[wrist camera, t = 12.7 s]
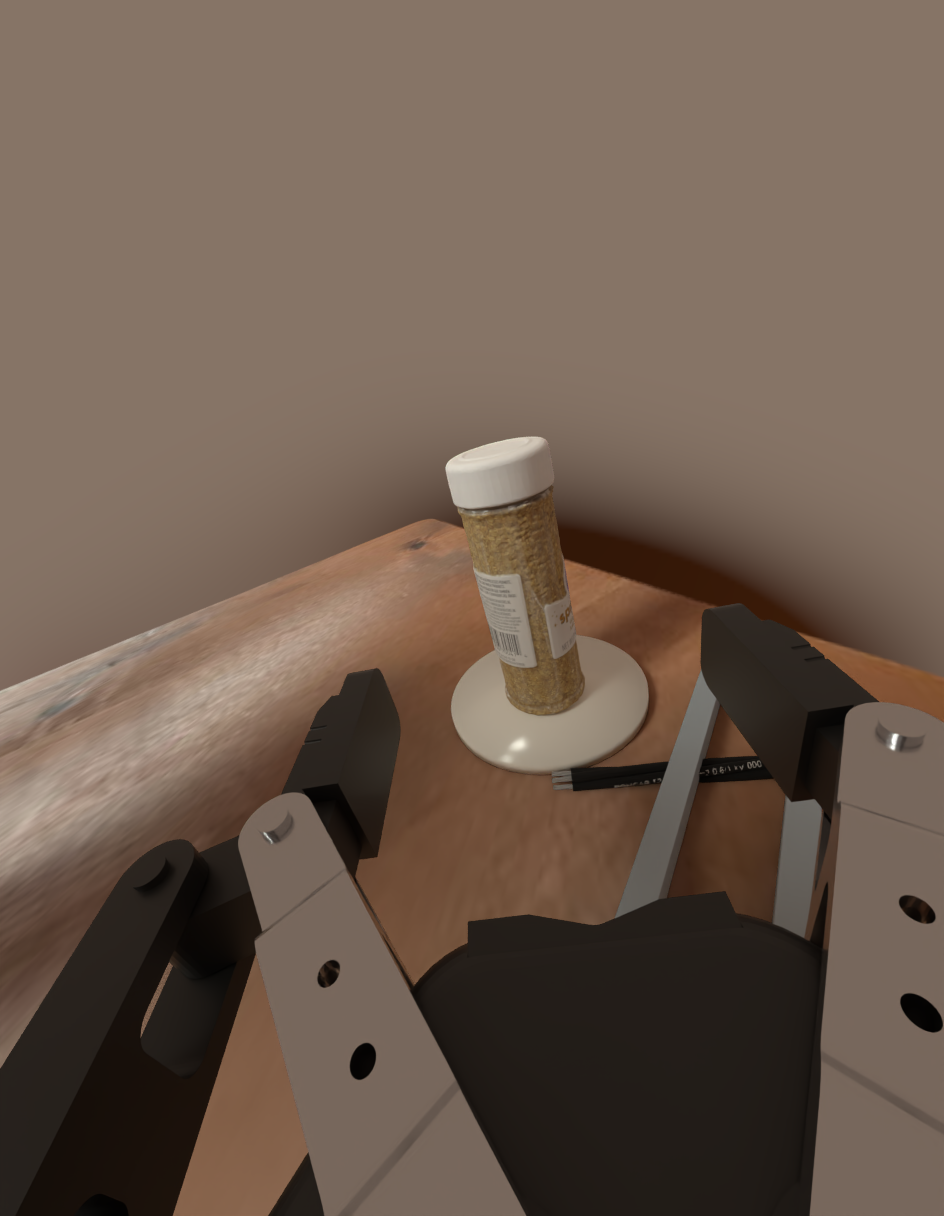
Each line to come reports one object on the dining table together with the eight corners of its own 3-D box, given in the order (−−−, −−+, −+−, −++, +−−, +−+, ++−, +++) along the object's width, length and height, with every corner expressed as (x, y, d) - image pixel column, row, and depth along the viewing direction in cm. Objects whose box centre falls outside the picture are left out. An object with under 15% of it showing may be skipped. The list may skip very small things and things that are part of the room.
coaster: (415, 736, 25) (413, 729, 25) (511, 631, 33) (509, 624, 32) (606, 808, 19) (605, 799, 19) (672, 657, 26) (671, 649, 26)
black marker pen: (554, 797, 20) (551, 782, 20) (553, 779, 21) (550, 764, 21) (861, 779, 18) (865, 762, 18) (845, 760, 19) (849, 743, 18)
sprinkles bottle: (602, 697, 24) (568, 435, 18) (524, 731, 23) (459, 470, 17) (561, 655, 28) (521, 430, 21) (493, 683, 27) (432, 458, 21)
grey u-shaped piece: (613, 955, 14) (610, 931, 14) (706, 674, 24) (707, 652, 24) (805, 1064, 12) (813, 1040, 11) (822, 694, 22) (826, 670, 21)
